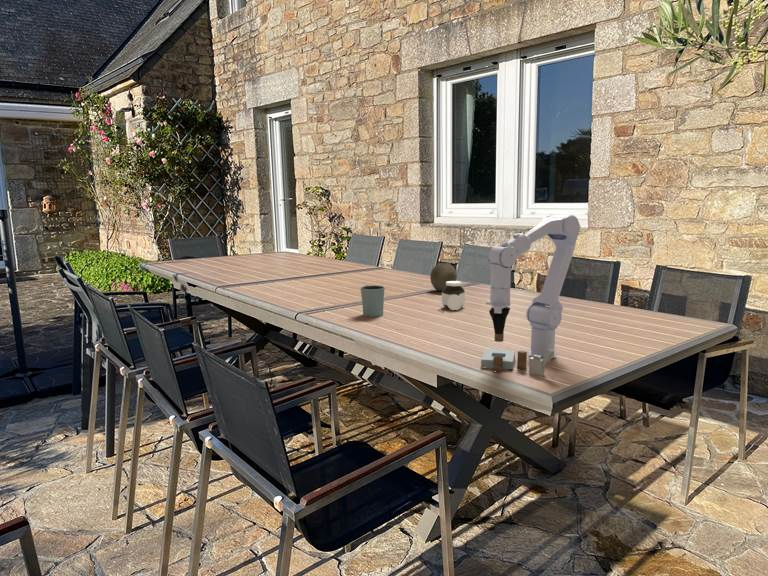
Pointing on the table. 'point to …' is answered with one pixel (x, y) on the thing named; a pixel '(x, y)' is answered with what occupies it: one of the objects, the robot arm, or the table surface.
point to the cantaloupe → (442, 275)
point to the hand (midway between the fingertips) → (499, 332)
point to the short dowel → (497, 363)
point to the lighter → (540, 363)
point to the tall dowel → (499, 337)
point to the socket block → (506, 354)
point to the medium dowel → (522, 360)
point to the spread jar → (453, 295)
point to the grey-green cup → (372, 300)
